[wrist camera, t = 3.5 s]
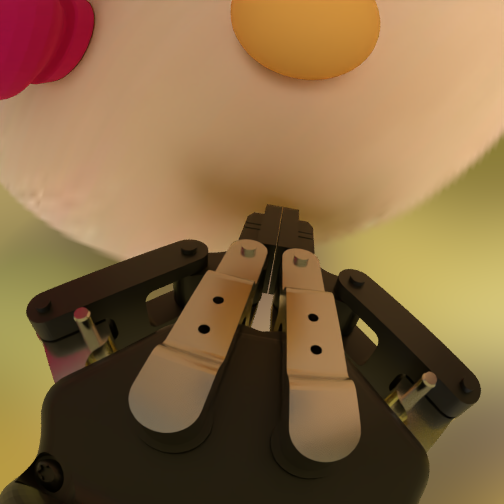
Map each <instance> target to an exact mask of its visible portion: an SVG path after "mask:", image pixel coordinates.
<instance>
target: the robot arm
mask: <svg viewBox="0 0 504 504" xmlns="http://www.w3.org/2000/svg"><path fill="white" fill-rule="evenodd" d="M281 212H282V207H279V206H273V205H268V204H267V207H266V210H265V214H261V213H255V212H254V213H253V214H251V215H249V216H248V218H247V220H246V223H245V225H244V228H243V230H242V233H241V235H240V238H239V240H238V241H235V242H233V243H232V244H231V245H230V247H229V249H228V250H227V251H226V252H218V253H208V247H207V246H206V245H205V244H204V243H202V242H200V241H197V240H182V241H178V242H176V243H173V244H170V245H167V246H164V247H161V248H158V249H155V250H153V251H150V252H147V253H144V254H141V255H139V256H136V257H133V258H130V259H128V260H125V261H122V262H119V263H117V264H114V265H111V266H109V267H106V268H104V269H101V270H98V271H95V272H93V273H90V274H88V275H85V276H82V277H80V278H77V279H75V280H72V281H70V282H67V283H64V284H62V285H59V286H57V287H54V288H52V289H50V290H47V291H45V292H42V293H40V294H38V295H36V296H35V297H34V298H33V299H32V300H31V301H30V302H29V304H28V306H27V310H26V313H27V317H28V318H29V321H30V322H31V324H32V326H33V327H34V329H35V331H36V334H37V336H38V338H39V340H40V341H41V343H42V344H43V346H44V348H45V352H46V356H47V359H48V363H49V366H50V370H51V372H52V376H53V379H54V382H55V384H54V385H53V386H52V387H51V388H50V390H49V391H48V393H47V394H46V397H45V399H44V402H43V405H42V410H41V439H40V445H39V450H38V454H37V457H36V459H35V460H34V462H33V463H32V464H31V465H30V467H29V468H28V469H27V470H26V471H25V472H24V473H22V474H21V475H20V476H19V477H18V478H16V479H15V480H14V481H12V482H11V483H10V484H9V485H7V486H6V487H5V488H4V490H3V491H2V493H1V495H0V504H418V503H419V501H420V498H421V496H422V494H423V492H424V490H425V487H426V485H427V481H428V478H429V460H428V456H427V454H426V453H427V452H428V451H429V449H430V448H431V447H432V446H433V444H434V443H435V442H436V441H437V439H438V438H439V437H440V436H441V434H442V433H443V432H444V430H445V429H446V428H447V426H448V425H449V424H450V422H452V421H453V420H454V419H456V418H457V417H458V416H460V415H461V414H462V413H463V412H465V411H466V410H467V409H468V408H470V407H471V406H472V405H473V404H474V403H476V402H477V401H478V399H479V397H480V393H481V388H480V384H479V381H478V379H477V378H476V376H475V375H474V374H473V373H472V372H471V371H470V370H469V369H468V368H467V367H466V366H465V365H464V364H463V363H462V362H461V361H460V360H459V359H458V358H457V357H456V356H455V355H454V354H453V353H452V352H451V351H450V350H449V349H448V348H447V347H446V346H445V345H444V344H443V343H442V342H441V341H440V340H439V339H438V338H437V337H436V336H435V335H434V334H433V333H431V332H430V331H429V330H428V329H427V328H426V327H425V326H424V325H423V324H422V323H421V322H420V321H419V320H417V319H416V318H415V317H414V316H413V315H412V314H411V313H410V312H409V311H408V310H406V309H405V308H404V307H403V306H402V305H401V304H400V303H398V302H397V301H396V300H395V299H394V298H393V297H392V296H391V295H389V294H388V293H387V292H386V291H385V290H384V289H383V288H381V287H380V286H379V285H378V284H377V283H376V282H374V281H373V280H372V279H371V278H370V277H369V276H367V275H366V274H364V273H363V272H360V271H358V270H353V269H346V270H343V271H342V272H340V273H339V276H336V275H333V274H331V273H329V272H327V271H325V270H323V269H322V268H321V267H320V263H319V260H318V258H317V257H316V256H315V255H314V240H313V228H312V226H311V225H310V224H309V223H308V222H305V221H300V220H299V210H296V209H290V208H285V207H284V208H283V213H282V219H281ZM280 219H281V224H280ZM279 225H280V230H279ZM278 231H279V235H278ZM277 237H278V241H277ZM276 244H277V246H276ZM275 249H276V252H275ZM274 254H275V258H274ZM273 260H274V264H273ZM272 265H273V270H272ZM271 270H272V276H271V282H270V288H269V294H273V295H274V296H273V301H272V306H271V314H270V332H262V331H258V330H255V329H253V328H251V326H252V323H253V320H254V317H255V314H256V311H257V307H258V303H259V301H260V299H261V296H262V293H267V290H268V285H269V280H270V275H271ZM171 283H173V288H174V290H173V291H170V292H168V293H166V294H164V295H161V296H159V297H157V298H155V299H152V300H150V301H147V302H146V298H147V296H148V295H149V293H151V292H152V291H154V290H157V289H159V288H161V287H164V286H166V285H168V284H171ZM359 318H361V319H362V320H363V321H364V322H365V323H366V324H367V325H368V326H369V327H370V328H371V329H372V330H373V331H374V332H375V333H376V335H377V337H378V346H376V345H375V344H374V343H373V342H372V341H371V340H370V339H369V338H368V337H367V336H366V335H365V334H364V333H363V332H362V331H361V330H360V329H359V328H358V327H357V326H356V324H357V322H358V320H359Z"/></svg>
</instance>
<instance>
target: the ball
mask: <svg viewBox="0 0 504 504" xmlns="http://www.w3.org/2000/svg"><path fill="white" fill-rule="evenodd" d="M231 22H232V26H233V30H234V32H235V35H236V37H237V39H238V40H239V42H240V44H241V45H242V47H243V48H244V49H245V50H246V51H247V53H248V54H249V55H250V56H251V57H252V58H253V59H255V60H256V61H257V62H259V63H260V64H261V65H263V66H265V67H266V68H268V69H270V70H272V71H274V72H276V73H279V74H282V75H285V76H288V77H292V78H297V79H305V80H320V79H328V78H333V77H337V76H340V75H343V74H345V73H347V72H349V71H351V70H353V69H354V68H356V67H357V66H359V65H360V64H361V63H362V62H363V61H364V60H366V59H367V57H368V56H369V55H370V54H371V52H372V51H373V49H374V47H375V45H376V42H377V40H378V37H379V32H380V17H379V11H378V8H377V4H376V2H375V0H232V3H231Z"/></svg>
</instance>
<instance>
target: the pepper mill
mask: <svg viewBox="0 0 504 504" xmlns="http://www.w3.org/2000/svg"><path fill="white" fill-rule="evenodd" d="M93 26H94V14H93V10H92V7H91V5H90V4H89V2H87V1H86V0H0V100H3V99H8V98H10V97H13V96H15V95H17V94H18V93H20V92H21V91H23V90H24V89H25V88H26V87H27V86H28V85H29V84H40V83H46V82H53V81H56V80H59V79H61V78H63V77H65V76H66V75H67V74H68V73H69V72H70V71H72V70H73V69H74V67H75V66H76V65H77V64H78V62H79V61H80V60H81V58H82V56H83V54H84V53H85V51H86V49H87V47H88V44H89V41H90V38H91V36H92V32H93Z"/></svg>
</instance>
